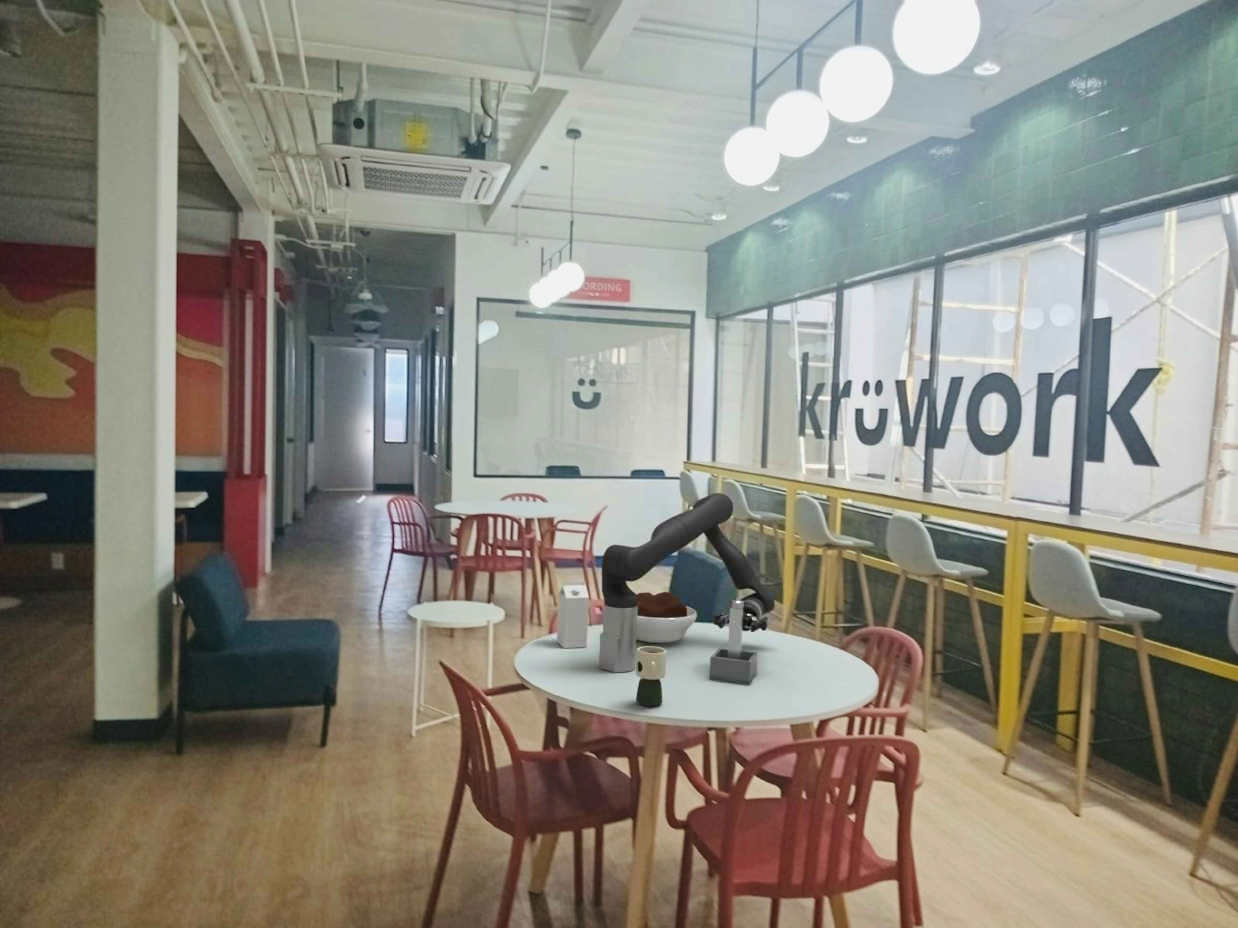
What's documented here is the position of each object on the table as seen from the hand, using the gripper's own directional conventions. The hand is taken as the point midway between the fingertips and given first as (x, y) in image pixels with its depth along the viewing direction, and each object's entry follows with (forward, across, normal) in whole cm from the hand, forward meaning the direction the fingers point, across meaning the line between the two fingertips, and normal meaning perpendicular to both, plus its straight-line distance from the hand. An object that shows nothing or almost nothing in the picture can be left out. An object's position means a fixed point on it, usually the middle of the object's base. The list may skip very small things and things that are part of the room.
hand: (736, 626), depth 231 cm
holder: (+1, 0, +14) cm, 14 cm away
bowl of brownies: (-29, -30, +14) cm, 44 cm away
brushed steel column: (+1, 0, +12) cm, 13 cm away
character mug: (+33, -14, +14) cm, 38 cm away
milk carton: (-10, -51, +14) cm, 53 cm away
